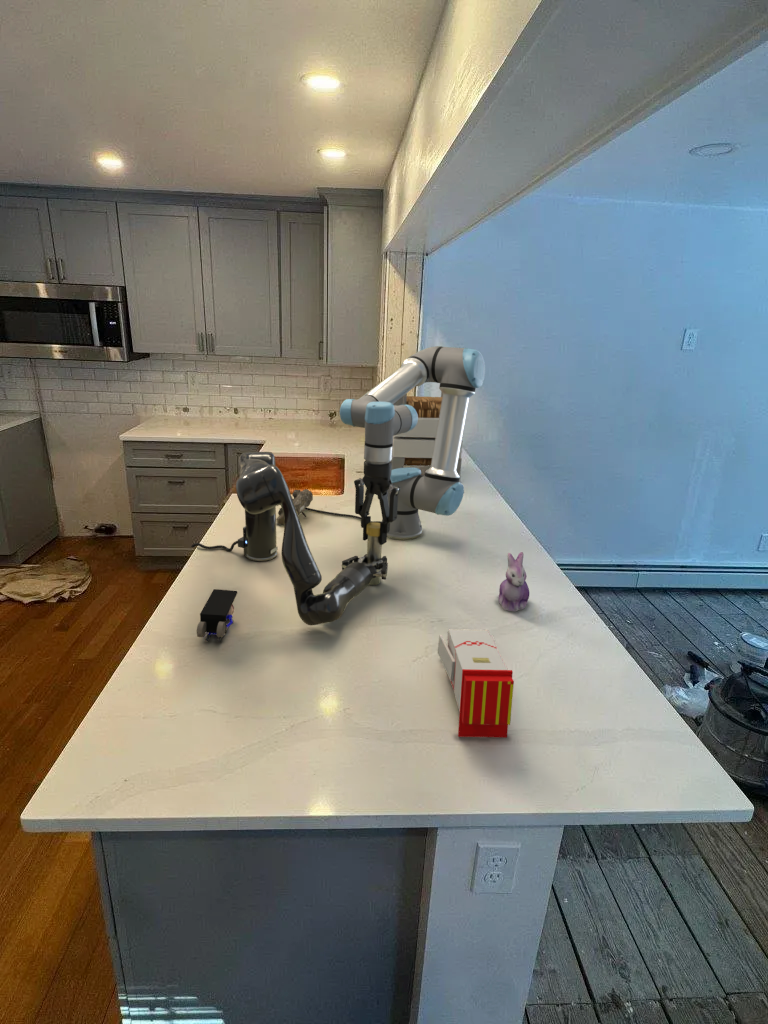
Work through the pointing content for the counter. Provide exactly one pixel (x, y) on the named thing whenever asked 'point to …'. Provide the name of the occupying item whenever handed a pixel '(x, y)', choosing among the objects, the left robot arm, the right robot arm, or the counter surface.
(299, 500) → the fossil
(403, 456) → the white storage crate
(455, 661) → the toy
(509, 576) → the figurine
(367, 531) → the lid
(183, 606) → the counter surface
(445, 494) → the right robot arm
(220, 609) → the black wheeled vehicle
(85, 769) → the counter surface
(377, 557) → the jar
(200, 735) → the counter surface
